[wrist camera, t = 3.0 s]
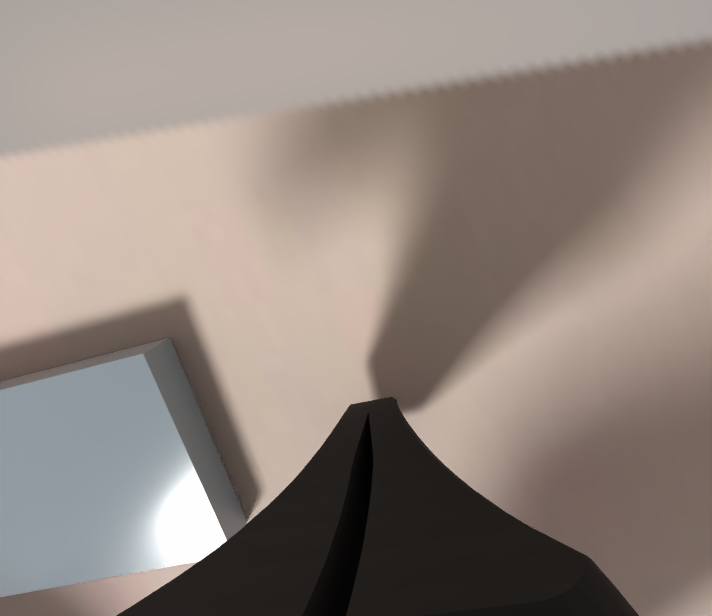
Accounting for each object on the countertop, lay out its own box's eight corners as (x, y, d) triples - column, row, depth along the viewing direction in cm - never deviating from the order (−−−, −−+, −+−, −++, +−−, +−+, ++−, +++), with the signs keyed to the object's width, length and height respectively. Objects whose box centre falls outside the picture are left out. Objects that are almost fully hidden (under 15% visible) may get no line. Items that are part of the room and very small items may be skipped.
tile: (178, 332, 11) (143, 353, 9) (252, 508, 13) (233, 554, 11) (-151, 418, 12) (-236, 450, 11) (-47, 566, 14) (-106, 616, 12)
